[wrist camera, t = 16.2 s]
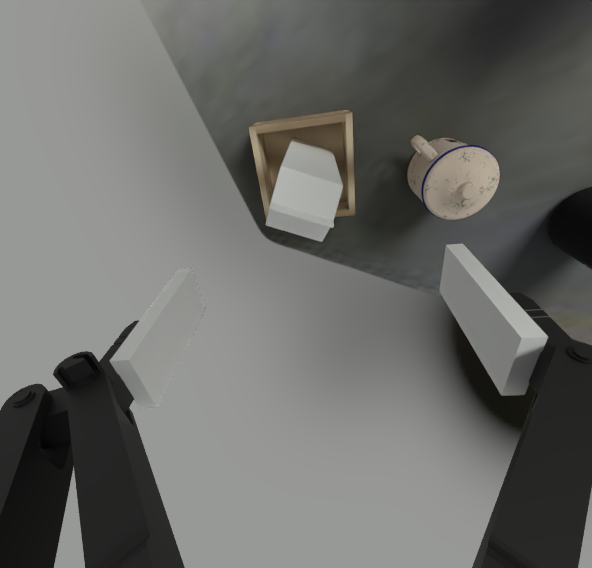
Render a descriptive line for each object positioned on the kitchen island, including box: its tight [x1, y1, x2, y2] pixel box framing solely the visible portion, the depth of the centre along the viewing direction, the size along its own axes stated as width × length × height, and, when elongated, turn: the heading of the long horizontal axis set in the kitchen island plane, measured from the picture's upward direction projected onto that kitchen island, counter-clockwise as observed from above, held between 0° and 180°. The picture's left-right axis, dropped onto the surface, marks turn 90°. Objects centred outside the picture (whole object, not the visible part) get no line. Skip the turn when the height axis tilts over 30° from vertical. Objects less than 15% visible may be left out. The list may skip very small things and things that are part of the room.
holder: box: [249, 110, 355, 220], centre depth 43 cm, size 13×13×6 cm
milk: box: [266, 137, 343, 242], centre depth 36 cm, size 6×6×22 cm
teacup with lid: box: [407, 135, 500, 220], centre depth 40 cm, size 12×9×12 cm
